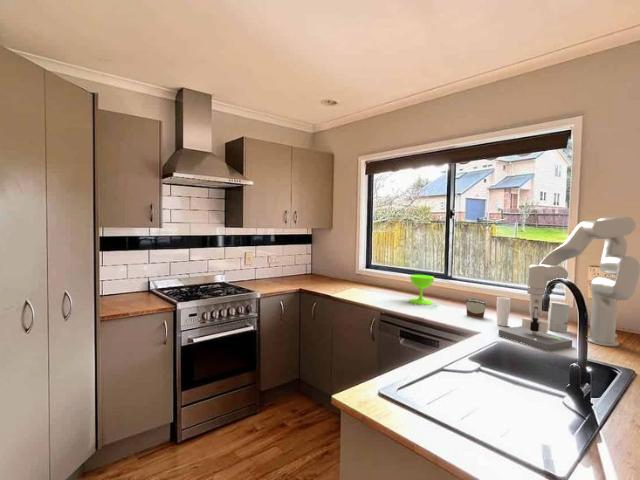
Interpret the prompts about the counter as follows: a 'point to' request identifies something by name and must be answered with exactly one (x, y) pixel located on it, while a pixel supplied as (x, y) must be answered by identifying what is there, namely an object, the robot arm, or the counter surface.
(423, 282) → the wineglass
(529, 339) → the dial plate
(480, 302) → the food container
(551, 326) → the skincare box
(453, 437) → the counter surface
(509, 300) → the drinking glass
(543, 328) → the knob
